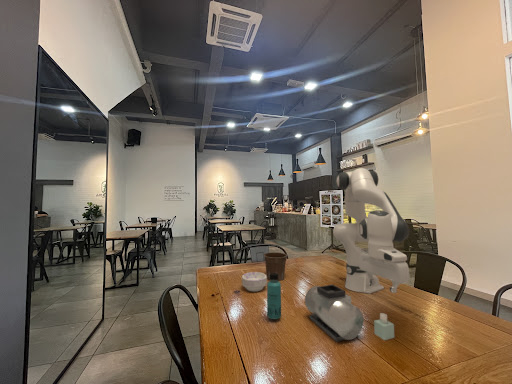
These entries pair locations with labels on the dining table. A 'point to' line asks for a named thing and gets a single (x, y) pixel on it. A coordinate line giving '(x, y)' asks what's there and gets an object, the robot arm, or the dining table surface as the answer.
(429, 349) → the dining table surface
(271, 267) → the plant pot
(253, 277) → the paper bowls
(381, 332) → the block
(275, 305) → the beverage bottle
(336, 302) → the motor
